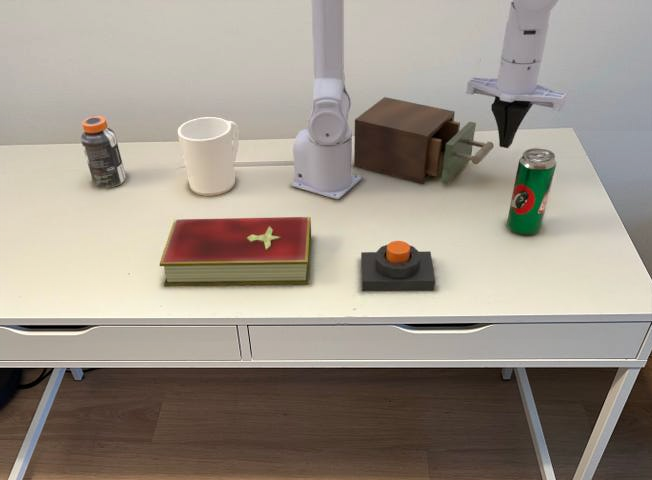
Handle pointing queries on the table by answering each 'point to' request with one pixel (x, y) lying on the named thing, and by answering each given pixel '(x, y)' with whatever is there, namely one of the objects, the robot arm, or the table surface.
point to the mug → (209, 154)
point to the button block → (397, 271)
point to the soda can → (531, 191)
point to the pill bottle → (102, 153)
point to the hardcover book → (238, 251)
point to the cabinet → (397, 137)
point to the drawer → (453, 150)
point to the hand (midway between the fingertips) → (505, 144)
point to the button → (398, 252)
